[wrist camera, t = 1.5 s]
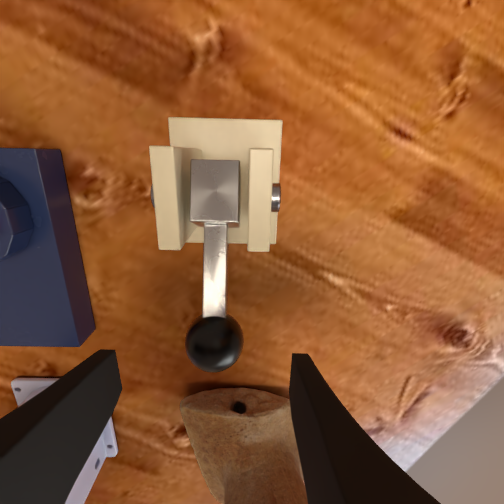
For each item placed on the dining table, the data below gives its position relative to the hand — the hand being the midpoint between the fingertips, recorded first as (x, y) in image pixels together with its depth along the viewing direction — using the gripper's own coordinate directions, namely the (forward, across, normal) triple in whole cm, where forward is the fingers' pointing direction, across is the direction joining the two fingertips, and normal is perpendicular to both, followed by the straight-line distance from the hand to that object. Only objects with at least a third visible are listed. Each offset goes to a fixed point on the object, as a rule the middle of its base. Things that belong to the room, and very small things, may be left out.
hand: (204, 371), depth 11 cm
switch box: (+11, 0, -6) cm, 12 cm away
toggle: (+5, 0, -3) cm, 5 cm away
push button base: (+10, +15, -1) cm, 18 cm away
